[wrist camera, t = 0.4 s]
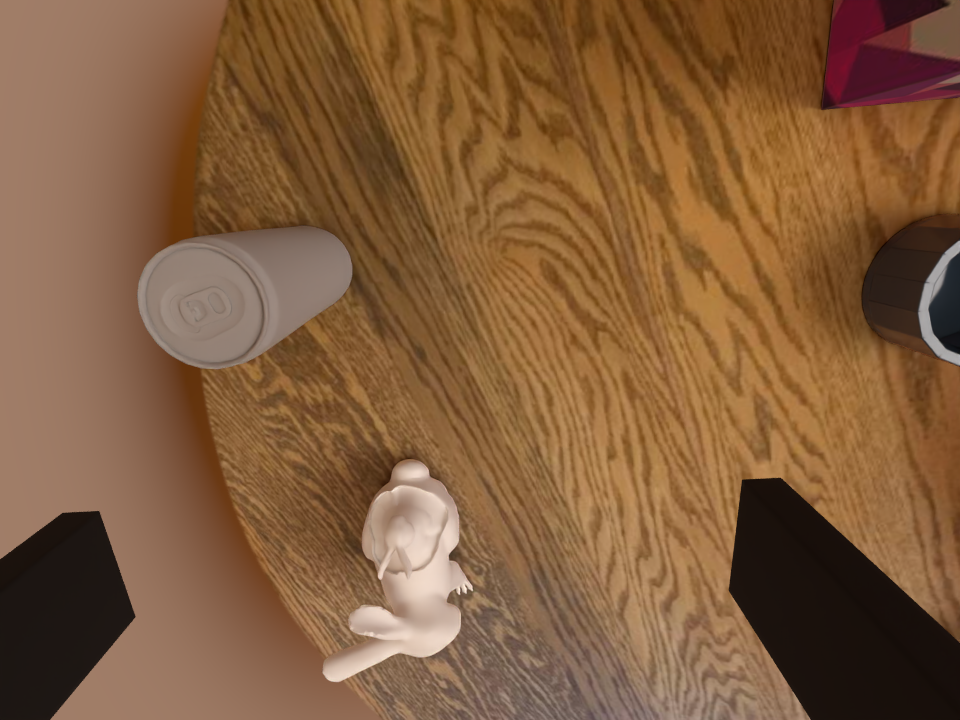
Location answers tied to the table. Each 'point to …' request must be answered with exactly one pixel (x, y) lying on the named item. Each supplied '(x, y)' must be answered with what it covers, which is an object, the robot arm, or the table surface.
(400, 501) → the rabbit figurine
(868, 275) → the holder
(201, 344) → the beverage can
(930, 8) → the decorative box
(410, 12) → the table surface
